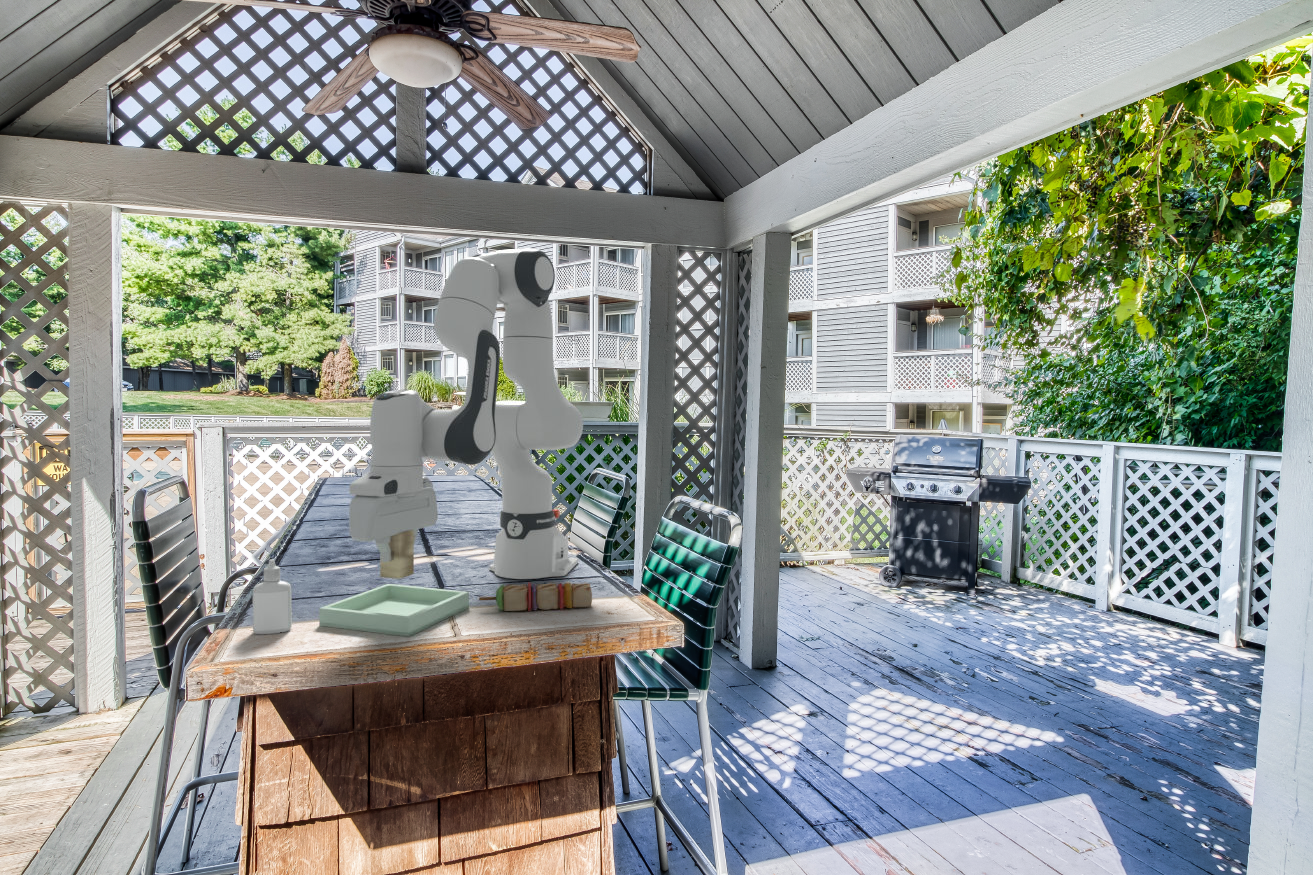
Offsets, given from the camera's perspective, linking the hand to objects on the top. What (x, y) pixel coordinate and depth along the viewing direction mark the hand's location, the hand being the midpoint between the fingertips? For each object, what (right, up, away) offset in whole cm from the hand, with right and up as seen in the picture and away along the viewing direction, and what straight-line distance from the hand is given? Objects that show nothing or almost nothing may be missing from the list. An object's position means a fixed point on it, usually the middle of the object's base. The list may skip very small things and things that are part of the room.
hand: (397, 558), depth 129 cm
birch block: (0, -3, 0) cm, 3 cm away
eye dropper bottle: (-18, -11, -9) cm, 22 cm away
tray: (0, -11, +1) cm, 11 cm away
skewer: (+24, -11, +7) cm, 27 cm away
